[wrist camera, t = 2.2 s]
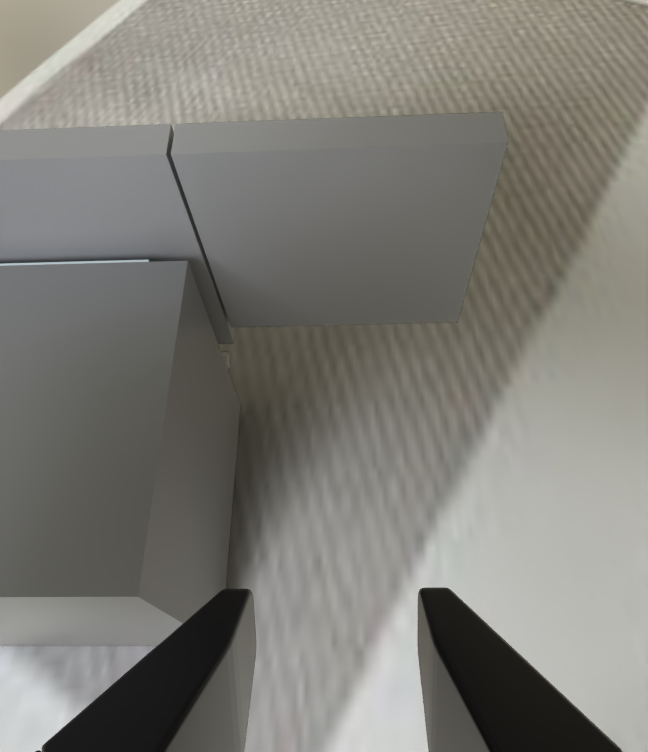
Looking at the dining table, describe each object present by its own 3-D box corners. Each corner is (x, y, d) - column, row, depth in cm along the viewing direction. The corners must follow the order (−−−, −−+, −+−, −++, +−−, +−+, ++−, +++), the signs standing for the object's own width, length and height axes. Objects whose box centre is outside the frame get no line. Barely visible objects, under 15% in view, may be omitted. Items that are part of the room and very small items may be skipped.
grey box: (220, 645, 18) (119, 586, 10) (-41, 645, 19) (-328, 587, 11) (242, 390, 23) (180, 212, 15) (28, 393, 23) (-141, 221, 15)
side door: (453, 338, 20) (508, 142, 13) (-18, 348, 20) (-219, 168, 13) (450, 314, 20) (502, 111, 13) (-11, 325, 21) (-203, 137, 14)
